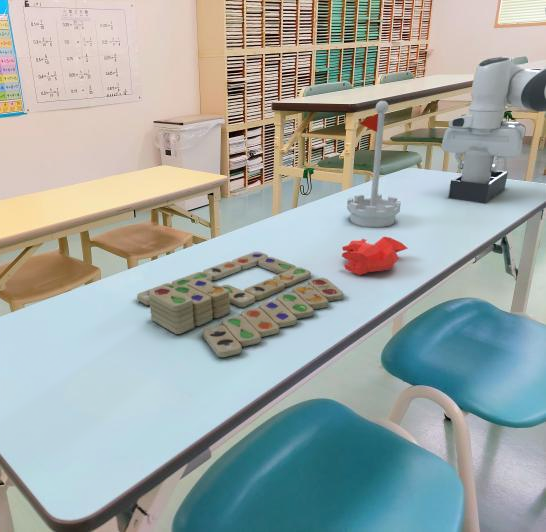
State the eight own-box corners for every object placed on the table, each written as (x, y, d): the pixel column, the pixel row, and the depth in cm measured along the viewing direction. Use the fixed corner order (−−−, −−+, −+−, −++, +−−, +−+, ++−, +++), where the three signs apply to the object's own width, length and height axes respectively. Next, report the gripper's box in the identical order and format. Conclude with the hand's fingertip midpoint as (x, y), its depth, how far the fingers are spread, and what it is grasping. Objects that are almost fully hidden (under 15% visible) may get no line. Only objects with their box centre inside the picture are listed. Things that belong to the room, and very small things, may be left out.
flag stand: (389, 212, 142) (401, 97, 130) (405, 227, 130) (420, 102, 118) (341, 213, 142) (348, 99, 131) (352, 229, 130) (362, 104, 119)
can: (461, 190, 149) (468, 148, 145) (458, 184, 156) (464, 144, 151) (490, 191, 147) (498, 148, 142) (486, 185, 154) (492, 144, 149)
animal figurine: (414, 259, 110) (417, 237, 108) (381, 282, 100) (384, 257, 99) (364, 247, 118) (366, 226, 116) (329, 267, 108) (330, 245, 106)
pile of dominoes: (222, 364, 76) (221, 331, 74) (123, 305, 96) (120, 277, 94) (360, 292, 97) (362, 264, 95) (255, 255, 116) (255, 231, 114)
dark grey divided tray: (504, 188, 159) (508, 171, 157) (485, 203, 146) (488, 184, 144) (469, 184, 165) (472, 168, 163) (448, 198, 152) (450, 180, 150)
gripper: (530, 121, 140) (520, 172, 145) (450, 117, 153) (444, 164, 158) (524, 124, 135) (514, 176, 141) (443, 120, 148) (436, 168, 154)
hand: (476, 170), depth 149 cm, fingers closed on can, 7 cm apart
